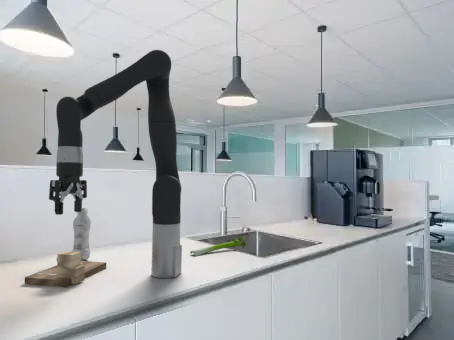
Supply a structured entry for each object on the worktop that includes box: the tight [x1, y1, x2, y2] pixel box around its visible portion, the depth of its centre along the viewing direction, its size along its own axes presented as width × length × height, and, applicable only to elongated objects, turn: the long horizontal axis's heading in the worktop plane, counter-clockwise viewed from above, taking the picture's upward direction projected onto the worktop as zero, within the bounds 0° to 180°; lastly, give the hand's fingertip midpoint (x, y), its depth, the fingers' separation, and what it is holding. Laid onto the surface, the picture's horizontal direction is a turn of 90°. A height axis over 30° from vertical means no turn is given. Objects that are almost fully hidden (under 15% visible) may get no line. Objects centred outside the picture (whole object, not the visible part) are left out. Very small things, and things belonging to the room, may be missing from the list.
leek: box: [189, 235, 248, 257], centre depth 143 cm, size 6×7×30 cm
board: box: [24, 260, 107, 289], centre depth 104 cm, size 14×21×2 cm, turn 170°
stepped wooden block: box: [56, 250, 86, 285], centre depth 97 cm, size 8×4×8 cm, turn 80°
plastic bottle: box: [72, 207, 92, 261], centre depth 123 cm, size 6×7×20 cm
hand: (68, 213), depth 100 cm, fingers open, 8 cm apart
